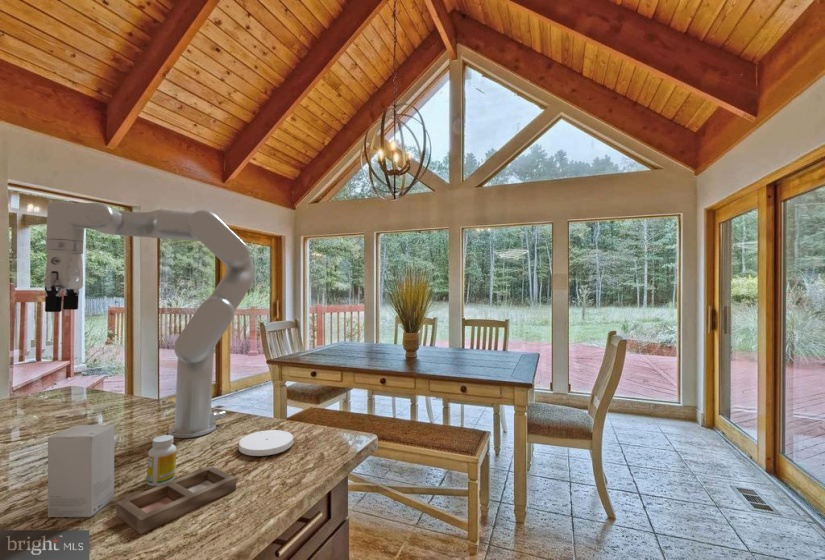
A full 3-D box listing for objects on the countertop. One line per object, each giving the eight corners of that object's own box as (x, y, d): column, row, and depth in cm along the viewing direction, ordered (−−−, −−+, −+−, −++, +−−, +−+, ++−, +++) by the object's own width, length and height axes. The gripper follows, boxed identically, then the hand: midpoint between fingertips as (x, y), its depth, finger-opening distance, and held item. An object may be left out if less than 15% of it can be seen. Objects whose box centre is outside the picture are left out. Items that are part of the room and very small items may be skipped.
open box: (210, 476, 89) (210, 465, 89) (236, 489, 84) (236, 477, 84) (115, 515, 73) (116, 502, 73) (140, 534, 68) (141, 520, 68)
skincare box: (114, 500, 78) (118, 423, 79) (88, 519, 72) (92, 436, 72) (73, 500, 78) (76, 423, 78) (42, 519, 71) (46, 435, 72)
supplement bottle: (141, 487, 84) (143, 443, 84) (155, 475, 89) (157, 433, 89) (167, 486, 84) (169, 442, 84) (179, 474, 89) (181, 433, 90)
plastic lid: (226, 456, 100) (227, 446, 100) (259, 436, 114) (259, 427, 114) (274, 462, 97) (274, 452, 97) (302, 441, 111) (302, 432, 111)
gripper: (67, 245, 97) (64, 312, 97) (94, 250, 113) (92, 308, 113) (29, 243, 94) (26, 312, 94) (62, 249, 110) (60, 308, 110)
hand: (62, 310), depth 103 cm, fingers open, 9 cm apart
